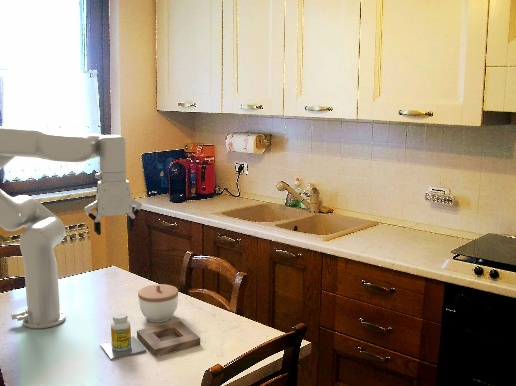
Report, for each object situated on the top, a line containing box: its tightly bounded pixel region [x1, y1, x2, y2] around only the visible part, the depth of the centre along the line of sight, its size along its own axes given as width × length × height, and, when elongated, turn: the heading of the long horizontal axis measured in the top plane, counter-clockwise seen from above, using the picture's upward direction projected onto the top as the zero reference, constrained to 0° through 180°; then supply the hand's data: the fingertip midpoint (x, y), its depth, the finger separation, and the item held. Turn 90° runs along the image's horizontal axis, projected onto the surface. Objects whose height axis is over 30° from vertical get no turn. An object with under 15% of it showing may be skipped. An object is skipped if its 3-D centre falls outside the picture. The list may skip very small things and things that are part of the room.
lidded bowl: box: [137, 283, 179, 323], centre depth 181 cm, size 13×13×11 cm
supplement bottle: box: [110, 312, 132, 351], centre depth 160 cm, size 5×5×10 cm
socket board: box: [136, 320, 201, 357], centre depth 166 cm, size 14×14×2 cm
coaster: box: [99, 336, 147, 362], centre depth 161 cm, size 10×10×1 cm
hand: (114, 232), depth 172 cm, fingers open, 9 cm apart
